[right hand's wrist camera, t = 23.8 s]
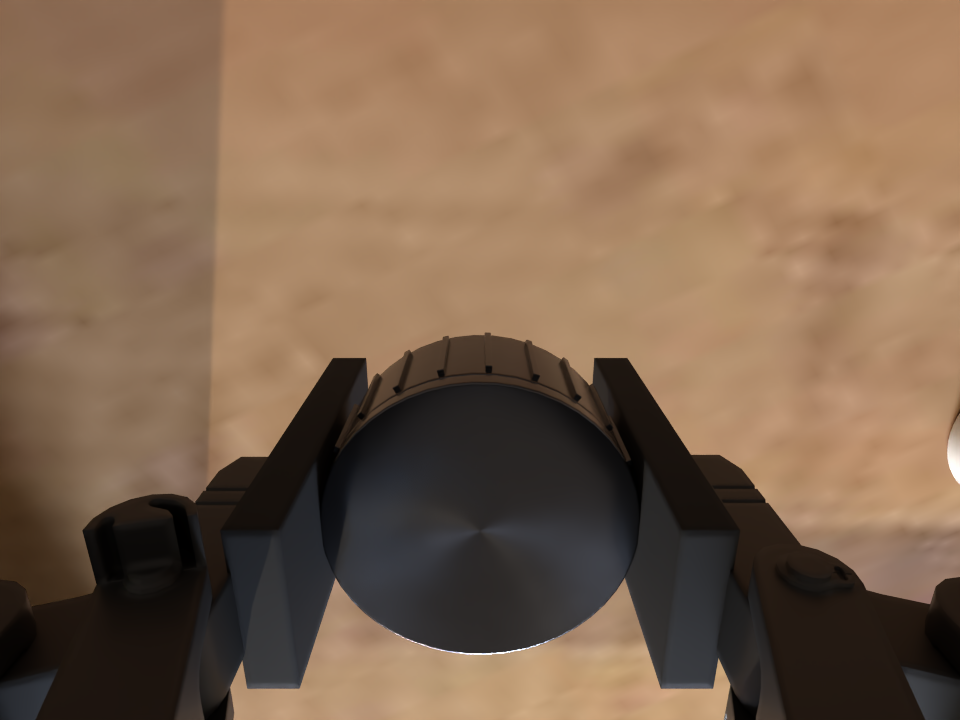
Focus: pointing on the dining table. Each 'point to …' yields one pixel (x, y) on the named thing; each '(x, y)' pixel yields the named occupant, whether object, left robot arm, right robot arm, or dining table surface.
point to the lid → (480, 498)
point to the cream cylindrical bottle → (954, 449)
